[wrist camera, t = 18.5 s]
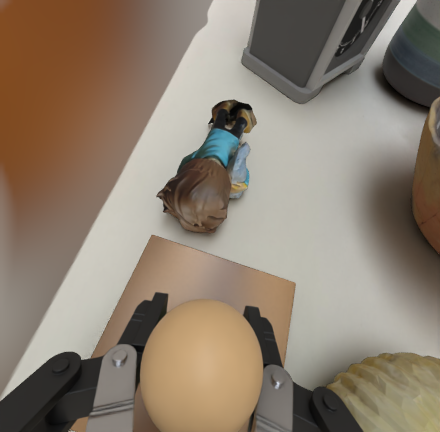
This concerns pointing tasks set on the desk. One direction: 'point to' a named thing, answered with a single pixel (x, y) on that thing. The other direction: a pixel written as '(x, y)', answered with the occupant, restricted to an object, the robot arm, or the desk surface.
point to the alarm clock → (312, 41)
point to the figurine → (212, 171)
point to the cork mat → (191, 290)
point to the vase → (416, 54)
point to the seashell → (392, 393)
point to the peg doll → (201, 369)
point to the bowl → (428, 179)
